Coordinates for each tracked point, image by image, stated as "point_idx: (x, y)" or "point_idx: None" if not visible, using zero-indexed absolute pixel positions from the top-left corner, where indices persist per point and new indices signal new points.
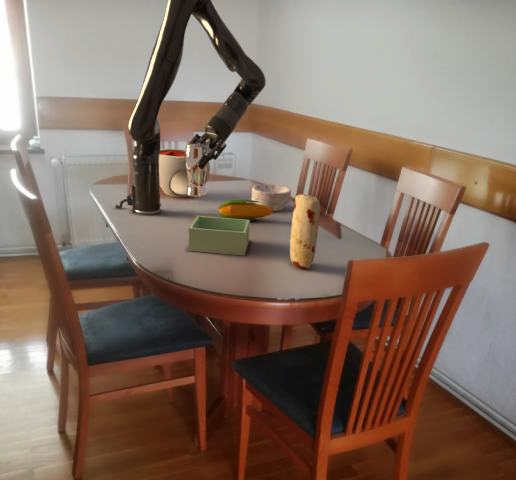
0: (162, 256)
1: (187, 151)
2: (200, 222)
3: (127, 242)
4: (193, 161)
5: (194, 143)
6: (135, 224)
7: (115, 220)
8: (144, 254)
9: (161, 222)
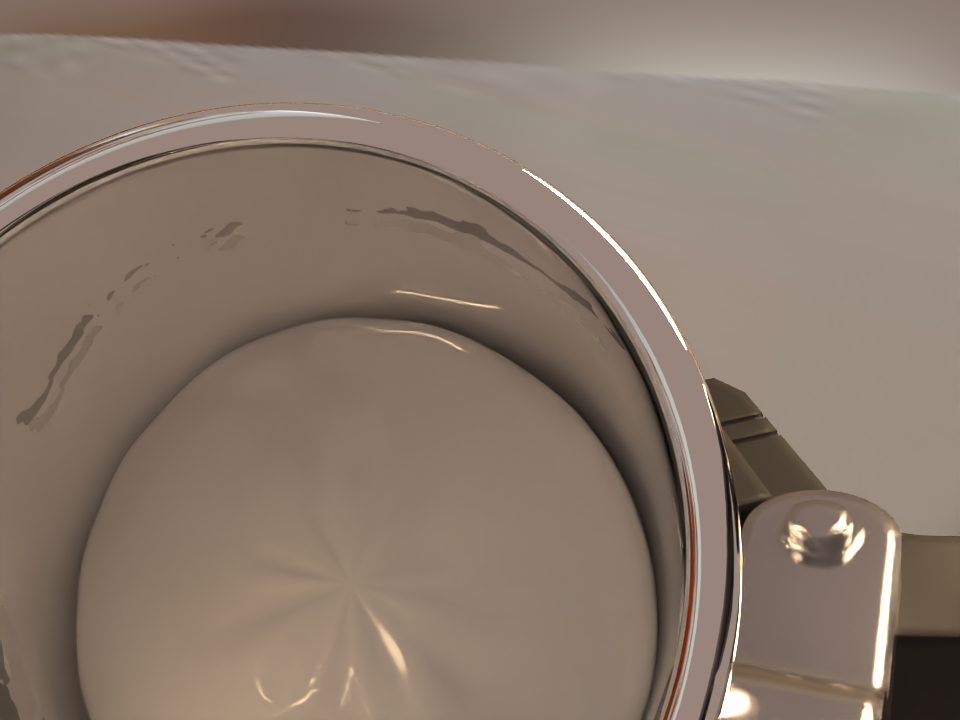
0: (7, 175)
1: (255, 207)
2: None
3: (359, 65)
4: (144, 401)
5: (847, 695)
6: (786, 222)
7: (934, 117)
8: (94, 94)
9: (810, 440)
